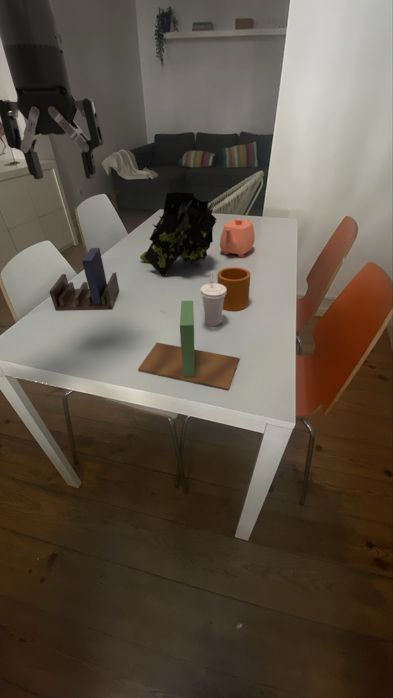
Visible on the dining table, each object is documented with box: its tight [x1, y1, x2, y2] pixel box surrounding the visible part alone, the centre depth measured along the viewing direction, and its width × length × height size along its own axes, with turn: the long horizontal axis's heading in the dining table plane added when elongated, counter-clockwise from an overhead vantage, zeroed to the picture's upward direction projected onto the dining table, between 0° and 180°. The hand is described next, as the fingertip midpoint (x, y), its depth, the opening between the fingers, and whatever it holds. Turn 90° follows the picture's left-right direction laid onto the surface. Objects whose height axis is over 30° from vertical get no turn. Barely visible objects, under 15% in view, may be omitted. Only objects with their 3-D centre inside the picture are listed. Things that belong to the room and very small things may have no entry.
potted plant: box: [139, 191, 218, 278], centre depth 104 cm, size 21×22×30 cm
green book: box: [179, 300, 195, 377], centre depth 65 cm, size 2×9×13 cm, turn 1°
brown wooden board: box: [137, 342, 240, 391], centre depth 69 cm, size 20×10×1 cm, turn 72°
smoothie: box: [200, 271, 227, 327], centre depth 79 cm, size 6×6×14 cm
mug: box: [217, 266, 251, 312], centre depth 89 cm, size 9×12×9 cm
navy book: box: [81, 247, 108, 305], centre depth 89 cm, size 2×9×13 cm, turn 1°
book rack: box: [48, 272, 120, 311], centre depth 92 cm, size 16×11×6 cm
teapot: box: [219, 217, 256, 258], centre depth 117 cm, size 20×12×12 cm, turn 152°
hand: (64, 178), depth 53 cm, fingers open, 8 cm apart
